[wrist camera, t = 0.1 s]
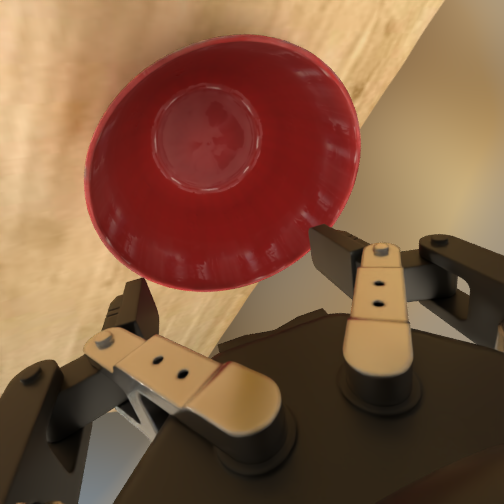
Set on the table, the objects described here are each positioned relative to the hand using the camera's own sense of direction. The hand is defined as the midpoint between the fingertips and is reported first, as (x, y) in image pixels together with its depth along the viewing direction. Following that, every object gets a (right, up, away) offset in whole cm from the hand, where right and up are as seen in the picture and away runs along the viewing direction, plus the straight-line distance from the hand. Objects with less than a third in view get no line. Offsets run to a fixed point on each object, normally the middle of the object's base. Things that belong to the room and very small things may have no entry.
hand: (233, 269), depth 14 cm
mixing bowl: (-5, +16, +28) cm, 33 cm away
